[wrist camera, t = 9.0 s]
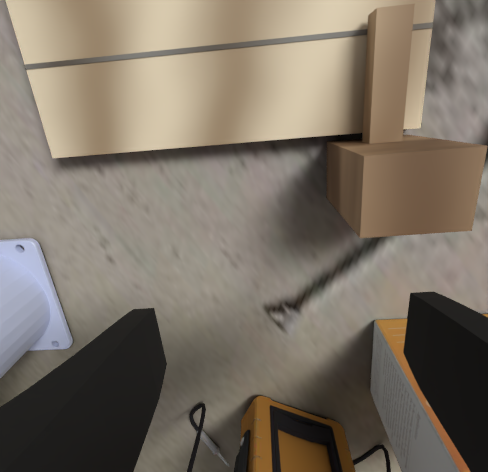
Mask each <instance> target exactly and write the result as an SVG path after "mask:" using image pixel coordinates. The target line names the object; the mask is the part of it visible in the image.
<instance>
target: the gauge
mask: <svg viewBox="0 0 488 472" xmlns="http://www.w3.org/2000/svg"><path fill="white" fill-rule="evenodd" d="M414 7H415V4H406V5H397V6H388V7H380V8H376V9H375V10H374V11H373V12H372V13H370V14H369V15H368V29H367V50H366V72H365V93H364V115H363V136H362V139H351V140H339V141H328V142H327V196H326V198H327V199H328V200H329V201H330V203H331V204H332V205H333V206H334V207H335V209H336V210H337V211H338V212H339V213H340V215H341V216H342V217H343V218H344V219H345V221H346V222H347V223H348V224H349V225H350V227H351V228H352V229H353V230H354V231H355V233H356V234H357V235H358V236H359V237H360V238H369V237H384V236H398V235H413V234H428V233H443V232H458V231H472V226H473V221H474V215H475V210H476V205H477V199H478V194H479V188H480V183H481V178H482V172H483V167H484V162H485V156H486V151H487V146H485V145H478V144H470V143H463V142H456V141H449V140H442V139H434V138H427V137H420V136H413V135H403V128H404V117H405V106H406V95H407V84H408V73H409V62H410V51H411V40H412V29H413V18H414Z"/></svg>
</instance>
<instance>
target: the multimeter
mask: <svg viewBox="0 0 488 472" xmlns="http://www.w3.org/2000/svg"><path fill="white" fill-rule="evenodd" d="M201 407H202V414H201V419H200V424H199V427H198V426H197V425H196V423H195V422H194V419H193V414H194V413H195V412H196V411H197V410H198V409H200V408H201ZM205 411H206V408H205V404H204V403H203V404H199V405H198V406H196V407H195V408H194V409H193V410H192V411H191V413H190V421H191V424H192V425H193V427H194V428H195V430H196V432H197V436H196V440H195V444H194V448H193V451H192V455H191V459H190V462H189V466H188V470H187V472H192V468H193V464H194V460H195V456H196V453H197V449H198V445H199V441H200V438H201V439H202V440H203V441H204V443H205V444H206V445H207V446H208V447H209V448H210V450H211V451H212V452H213V454H214V455H218V456H219V457H220V458H221V459H222V460H223V462H224V463H225V464H226V465H227V466H229V464H228V462H227V461H226V460H225V459H224V458H223V456H222V455H221V454H220V453H219V451H220V449H219V447H217V446H216V445H215V444H214V443H213V442H212V440H211V439H210V438H209V437H208V436H207V435H206V433H205V432H204V431H203V430H202V428H203V423H204V418H205ZM240 442H241V443H240V450H239V453H238V455H237V457H236V462H235V468H234V472H355V468H354V465H355V464H357V463H359V462H361V461H363V460H364V459H366V458H367V457H369V456H370V455H372V454H373V453H374V452H375V451H377V450H378V449H381V448H382V449H383V451H384V453H385V458H386V467H387V472H391V468H390V460H389V455H388V451H387V450H386V448H385V447H384V445H379V446H376V447H374V448H373V449H372V450H370V451H369V452H368V453H366V454H365V455H363V456H362V457H360V458H359V459H357V460H355V461H352V458H351V454H350V451H349V447H348V444H347V440H346V437H345V432H344V429H343V427H342V426H341V425H340V424H339V423H338V422H335V421H333V420H331V419H328V418H327V419H323V418H320V417H317V416H314V415H312V414H309V413H306V412H303V411H300V410H297V409H294V408H292V407H289V406H286V405H283V404H280V403H277V402H274V401H271V399H270V398H268V397H264V396H257V397H256V398H255V399H254V400H253V402H252V403H251V405H250V407H249V408H248V410H247V412H246V413H245V415H244V417H243V418H242V420H241V439H240ZM229 467H230V466H229Z"/></svg>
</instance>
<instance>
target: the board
mask: <svg viewBox="0 0 488 472" xmlns="http://www.w3.org/2000/svg"><path fill="white" fill-rule="evenodd" d="M6 4H7V7H8V10H9V14H10V17H11V20H12V24H13V27H14V30H15V34H16V37H17V40H18V44H19V47H20V50H21V54H22V57H23V60H24V64H25V65H24V66H25V69H26V71H27V74H28V77H29V81H30V84H31V87H32V91H33V94H34V97H35V101H36V104H37V107H38V111H39V114H40V117H41V121H42V124H43V128H44V131H45V134H46V138H47V141H48V144H49V148H50V151H51V154H52V158H63V157H75V156H87V155H99V154H112V153H124V152H136V151H148V150H160V149H172V148H184V147H196V146H209V145H221V144H233V143H245V142H257V141H269V140H281V139H293V138H306V137H318V136H330V135H342V134H354V133H363V115H364V93H365V72H366V50H367V29H368V15H369V14H370V13H372V12H373V11H374V10H375V9H376V8H380V7H388V6H397V5H406V4H415V7H414V18H413V29H412V40H411V51H410V62H409V73H408V84H407V95H406V106H405V117H404V128H403V129H415V128H421V119H422V111H423V102H424V93H425V85H426V76H427V68H428V59H429V50H430V42H431V33H432V28H433V16H434V8H435V0H6Z"/></svg>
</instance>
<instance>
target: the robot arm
mask: <svg viewBox="0 0 488 472" xmlns="http://www.w3.org/2000/svg"><path fill="white" fill-rule="evenodd" d="M20 245H22V246H23V247H24V250H23V249H22V248H21V247H20ZM56 341H57V342H56ZM72 343H73V339H72V336H71V334H70V331H69V328H68V325H67V322H66V319H65V316H64V313H63V311H62V308H61V305H60V302H59V299H58V296H57V293H56V290H55V288H54V285H53V282H52V279H51V276H50V273H49V270H48V267H47V264H46V262H45V259H44V256H43V253H42V250H41V247H40V245H39V243H38V242H37V241H36V240H35V239H32V238H23V239H7V240H0V378H1V377H2V376H3V375H4V374H5V373H6V372H7V371H8V370H9V369H10V368H11V367H12V366H13V365H14V364H15V363H16V362H17V361H18V360H19V359H20V358H21V357H22V356H23V355H24V354H25V352H26V351H31V350H56V349H68V348H69V347H70V346H71V345H72ZM403 353H404V355H405V358H406V360H407V362H408V365H409V367H410V369H411V371H412V374H413V376H414V378H415V380H416V382H417V384H418V386H419V388H420V390H421V392H422V393H423V395H424V397H425V398H426V400H427V402H428V403H429V405H430V406H431V408H432V410H433V411H434V413H435V415H436V416H437V418H438V420H439V421H440V423H441V424H442V426H443V428H444V429H445V431H446V433H447V434H448V436H449V437H450V439H451V441H452V442H453V444H454V445H455V447H456V449H457V450H458V452H459V454H460V455H461V457H462V458H463V460H464V462H465V463H466V465H467V467H468V468H469V470H470V471H471V472H488V317H486V316H484V315H482V314H480V313H478V312H476V311H474V310H472V309H470V308H468V307H466V306H464V305H462V304H460V303H458V302H456V301H454V300H451V299H449V298H447V297H445V296H443V295H440V294H438V293H435V292H420V293H410V301H409V309H408V317H407V326H406V334H405V342H404V350H403ZM166 365H167V363H166V359H165V355H164V350H163V346H162V341H161V337H160V332H159V328H158V323H157V319H156V314H155V310H154V308H148V309H133V310H132V311H130V312H129V313H127V314H126V315H125V316H123V317H122V318H121V319H119V320H118V321H117V322H116V323H114V324H113V325H112V326H110V327H109V328H108V329H107V330H105V331H104V332H103V333H102V334H100V335H99V336H98V337H97V338H95V339H94V340H93V341H91V342H90V343H89V344H88V345H86V346H85V347H84V348H82V349H81V350H80V351H79V352H77V353H76V354H75V355H74V356H72V357H71V358H70V359H68V360H67V361H65V362H64V363H63V364H61V365H60V366H59V367H57V368H56V369H54V370H53V371H52V372H50V373H49V374H48V375H46V376H45V377H44V378H42V379H41V380H39V381H38V382H37V383H35V384H34V385H33V386H31V387H30V388H28V389H27V390H25V391H24V392H22V393H21V394H20V395H18V396H17V397H15V398H14V399H12V400H11V401H9V402H8V403H6V404H4V405H3V406H1V407H0V472H133V471H134V468H135V466H136V463H137V460H138V457H139V454H140V452H141V449H142V446H143V443H144V440H145V438H146V435H147V432H148V429H149V426H150V423H151V420H152V418H153V415H154V412H155V409H156V406H157V403H158V400H159V396H160V392H161V388H162V384H163V379H164V374H165V369H166Z"/></svg>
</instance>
